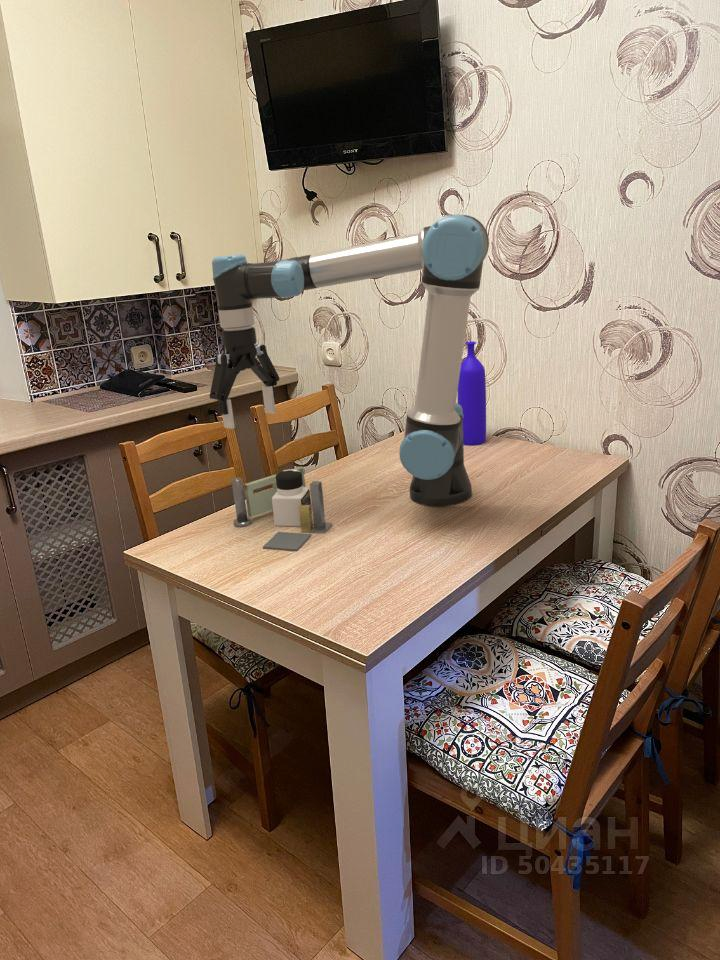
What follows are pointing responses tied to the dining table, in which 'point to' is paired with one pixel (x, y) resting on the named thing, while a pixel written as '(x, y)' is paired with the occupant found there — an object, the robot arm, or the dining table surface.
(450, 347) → the robot arm
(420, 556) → the dining table surface
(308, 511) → the post
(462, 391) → the bottle
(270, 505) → the gate
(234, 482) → the hinge post
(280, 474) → the medicine bottle
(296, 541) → the mat
